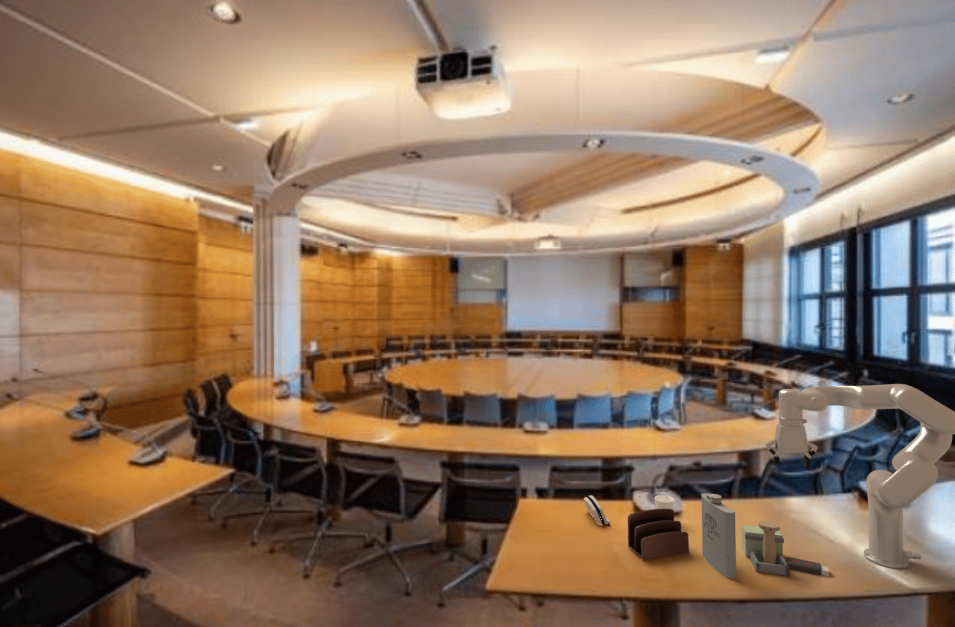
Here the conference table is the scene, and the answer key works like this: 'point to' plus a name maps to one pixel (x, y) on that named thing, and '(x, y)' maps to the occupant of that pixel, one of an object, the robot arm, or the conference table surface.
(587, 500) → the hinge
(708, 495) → the flask
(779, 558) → the green box on stand
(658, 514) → the letter holder
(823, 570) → the usb drive
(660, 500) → the white cup
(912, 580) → the conference table surface
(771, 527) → the handle
